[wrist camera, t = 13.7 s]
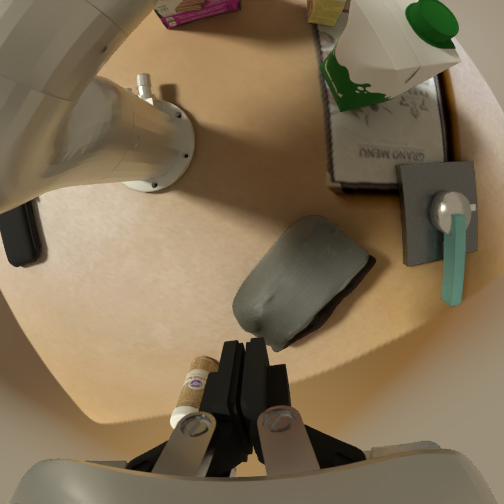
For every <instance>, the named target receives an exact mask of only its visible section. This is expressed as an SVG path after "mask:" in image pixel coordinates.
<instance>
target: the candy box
mask: <svg viewBox="0 0 504 504" xmlns="http://www.w3.org/2000/svg"><path fill="white" fill-rule="evenodd" d="M347 1H348V0H307V12H308V22H309V23H317V24H323V25H329V26H335V24H336V22H337V20H338V18H339V16H340V14H341V12H342V11H343V9H344V7H345V5H346V3H347Z"/></svg>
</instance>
